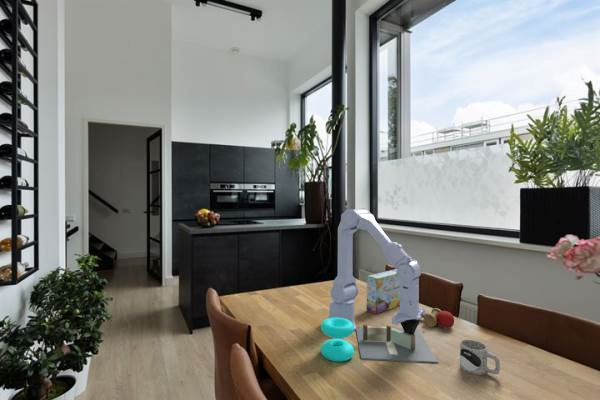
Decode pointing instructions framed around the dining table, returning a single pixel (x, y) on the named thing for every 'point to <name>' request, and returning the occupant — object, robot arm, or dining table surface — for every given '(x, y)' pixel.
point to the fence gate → (403, 339)
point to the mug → (476, 358)
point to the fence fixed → (376, 333)
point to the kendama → (439, 318)
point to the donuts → (337, 347)
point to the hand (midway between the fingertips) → (408, 341)
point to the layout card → (395, 349)
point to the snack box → (383, 291)
